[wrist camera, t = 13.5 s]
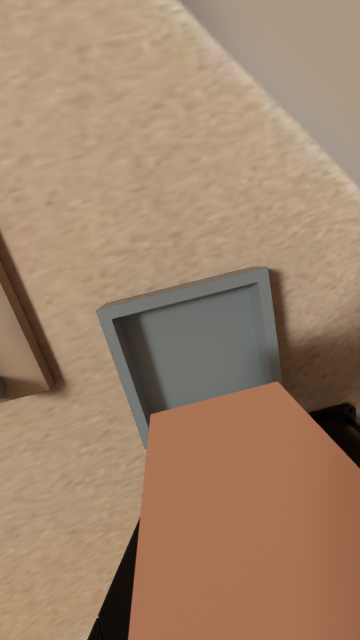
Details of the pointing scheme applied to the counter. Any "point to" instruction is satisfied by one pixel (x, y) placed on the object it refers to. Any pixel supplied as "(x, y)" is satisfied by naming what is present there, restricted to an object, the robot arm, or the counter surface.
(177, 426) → the block
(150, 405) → the tray
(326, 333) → the counter surface
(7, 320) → the peg rack
